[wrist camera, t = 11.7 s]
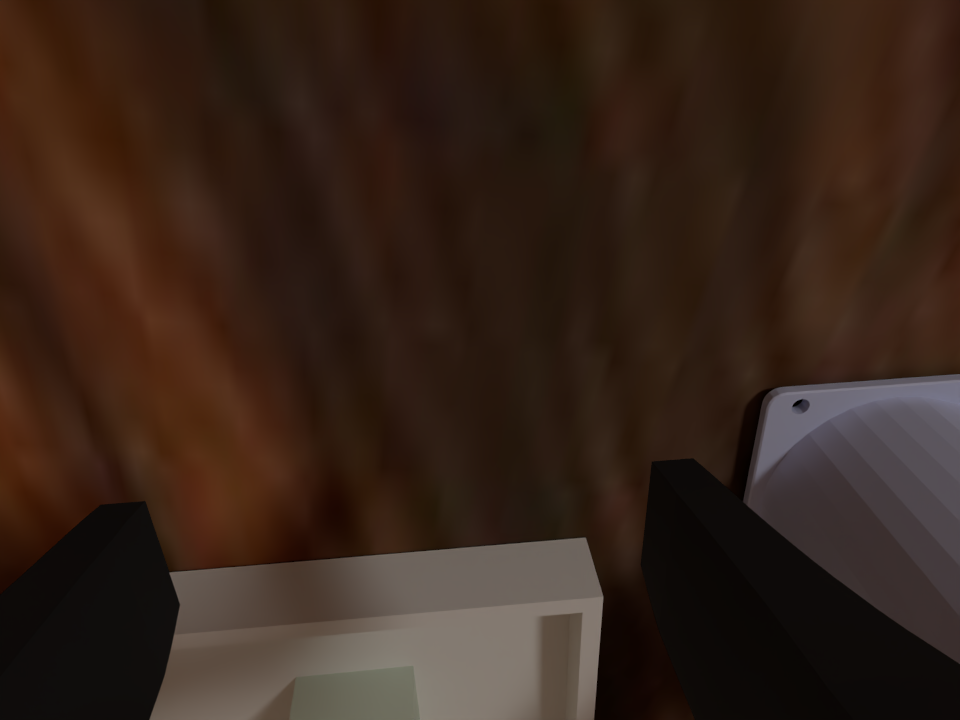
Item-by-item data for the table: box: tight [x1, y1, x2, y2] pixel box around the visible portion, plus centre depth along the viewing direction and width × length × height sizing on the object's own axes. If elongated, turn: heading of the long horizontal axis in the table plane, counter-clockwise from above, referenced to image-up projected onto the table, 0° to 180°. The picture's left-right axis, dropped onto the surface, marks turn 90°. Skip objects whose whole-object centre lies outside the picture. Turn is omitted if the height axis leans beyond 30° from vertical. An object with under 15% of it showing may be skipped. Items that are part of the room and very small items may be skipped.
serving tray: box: [149, 538, 603, 720], centre depth 25 cm, size 16×13×2 cm
